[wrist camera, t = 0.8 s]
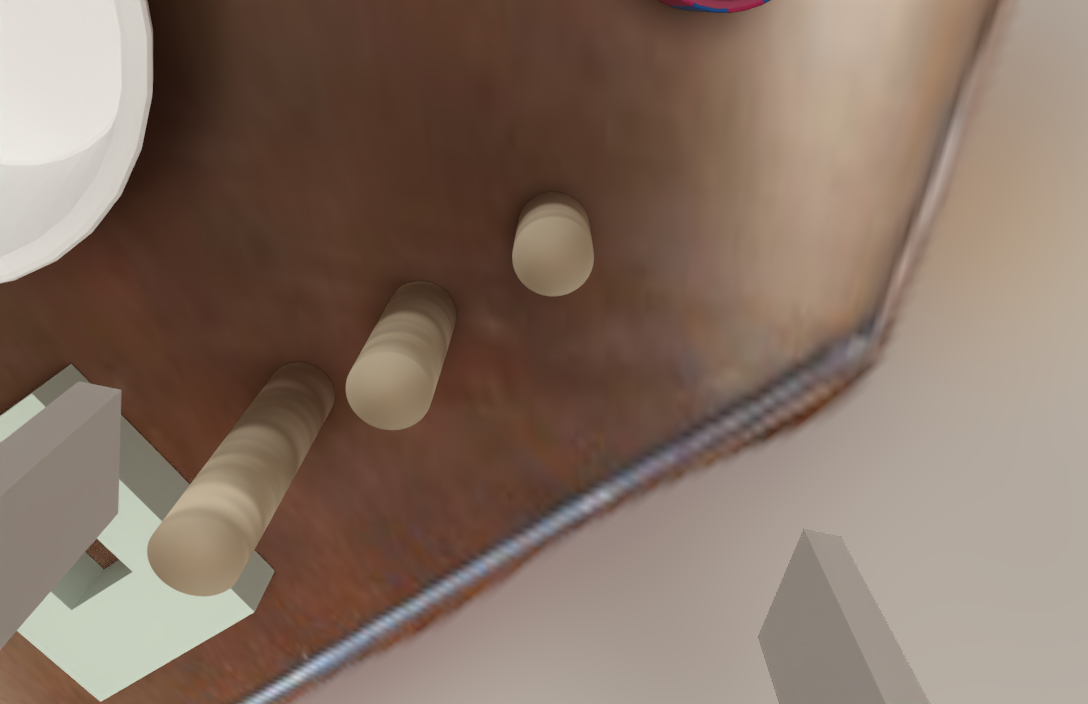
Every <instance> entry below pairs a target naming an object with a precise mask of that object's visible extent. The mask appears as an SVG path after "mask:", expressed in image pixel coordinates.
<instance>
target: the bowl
mask: <svg viewBox="0 0 1088 704" xmlns="http://www.w3.org/2000/svg"><path fill="white" fill-rule="evenodd" d="M152 94H153V27H152V22H151V16H150V11H149V6H148V1H147V0H0V283H4V282H9V281H14V280H16V279H18V278H21V277H23V276H25V275H27V274H29V273H31V272H34V271H36V270H38V269H40V268H42V267H44V266H47V265H49V264H51V263H53V262H55V261H57V260H58V259H60V258H61V257H62V256H63V255H65V254H66V253H67V252H68V251H70V250H71V249H72V248H73V247H75V246H76V245H77V244H78V243H80V242H81V241H82V240H84V239H85V238H86V237H87V236H89V235H90V234H91V233H92V232H93V231H94V230H95V229H96V227H97V226H98V225H99V223H100V222H101V221H102V219H103V218H104V217H105V216H106V214H107V213H108V212H109V210H110V209H111V208H112V206H113V205H114V204H115V202H116V201H117V200H118V199H119V197H120V196H121V195H122V192H123V190H124V188H125V186H126V183H127V181H128V179H129V177H130V174H131V172H132V170H133V168H134V165H135V163H136V161H137V159H138V156H139V154H140V152H141V149H142V146H143V140H144V135H145V130H146V125H147V120H148V115H149V110H150V105H151V100H152Z"/></svg>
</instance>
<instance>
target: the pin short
mask: <svg viewBox="0 0 1088 704" xmlns="http://www.w3.org/2000/svg"><path fill="white" fill-rule="evenodd" d="M512 261H513V267H514V270H515V272H516V274H517V276H518V278H519V279H520V281H521V282H522V283H523V284H524V285H525V286H526V287H527V288H529V289H530V290H532V291H534V292H535V293H538V294H541V295H545V296H561V295H565V294H568V293H571V292H573V291H574V290H576V289H577V288H579V287H580V286H581V285H582V284H583V283H584V282H585V281H586V280H587V278H588V277H589V275H590V273H591V271H592V267H593V263H594V251H593V244H592V237H591V230H590V223H589V218H588V215H587V213H586V211H585V209H584V207H583V206H582V205H581V204H580V203H579V202H578V201H577V200H576V199H575V198H573V197H572V196H570V195H567V194H565V193H561V192H546V193H542V194H540V195H537V196H536V197H534V198H532V199H531V200H530V201H529V202H528V203H527V204H526V205H525V206H524V208H523V209H522V211H521V213H520V215H519V219H518V224H517V229H516V235H515V241H514V246H513V253H512Z"/></svg>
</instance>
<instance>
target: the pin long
mask: <svg viewBox="0 0 1088 704" xmlns="http://www.w3.org/2000/svg"><path fill="white" fill-rule="evenodd" d="M334 402H335V389H334V386H333V383H332V382H331V380H330V378H329V377H328V376H327V375H326V374H325V373H324V372H323V371H322V370H321V369H319V368H318V367H316V366H314V365H311V364H308V363H302V362H294V363H289V364H286V365H284V366H282V367H280V368H279V369H278V370H276V372H275V373H274V374H273V375H272V377H271V378H270V379H269V381H268V382H267V383H266V385H265V386H264V387H263V389H262V390H261V391H260V393H259V394H258V395H257V396H256V398H255V399H254V400H253V402H252V403H251V404H250V406H249V407H248V408H247V410H246V411H245V412H244V414H243V415H242V416H241V418H240V419H239V420H238V422H237V423H236V424H235V426H234V427H233V428H232V430H231V431H230V432H229V434H228V435H227V436H226V438H225V439H224V440H223V442H222V443H221V444H220V446H219V447H218V448H217V450H216V451H215V452H214V453H213V455H212V456H211V457H210V459H209V460H208V461H207V463H206V464H205V465H204V467H203V468H202V469H201V471H200V472H199V473H198V475H197V476H196V477H195V479H194V480H193V481H192V483H191V484H190V485H189V487H188V488H187V489H186V491H185V492H184V493H183V495H182V496H181V497H180V499H179V500H178V501H177V503H176V504H175V505H174V507H173V508H172V509H171V511H170V512H169V513H168V514H167V516H166V517H165V518H164V520H163V521H162V522H161V524H160V525H159V526H158V528H157V529H156V530H155V532H154V533H153V535H152V536H151V538H150V540H149V542H148V546H147V556H148V560H149V563H150V566H151V568H152V569H153V571H154V572H155V574H156V575H157V576H158V577H159V578H160V579H161V580H162V581H163V582H164V583H165V584H167V585H168V586H170V587H171V588H173V589H175V590H177V591H179V592H182V593H185V594H188V595H193V596H213V595H217V594H220V593H223V592H225V591H227V590H228V589H230V588H231V587H232V586H233V585H234V584H235V583H236V582H237V580H238V579H239V577H240V575H241V573H242V571H243V570H244V568H245V566H246V564H247V562H248V560H249V559H250V557H251V555H252V553H253V551H254V550H255V548H256V546H257V544H258V542H259V540H260V539H261V537H262V535H263V533H264V531H265V529H266V528H267V526H268V524H269V522H270V520H271V518H272V517H273V515H274V513H275V511H276V509H277V508H278V506H279V504H280V502H281V500H282V498H283V497H284V495H285V493H286V491H287V489H288V487H289V486H290V484H291V482H292V480H293V478H294V477H295V475H296V473H297V471H298V469H299V467H300V466H301V464H302V462H303V460H304V458H305V456H306V455H307V453H308V451H309V449H310V447H311V445H312V444H313V442H314V440H315V438H316V436H317V435H318V433H319V431H320V429H321V427H322V425H323V424H324V422H325V420H326V418H327V416H328V414H329V413H330V411H331V409H332V407H333V405H334Z"/></svg>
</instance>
